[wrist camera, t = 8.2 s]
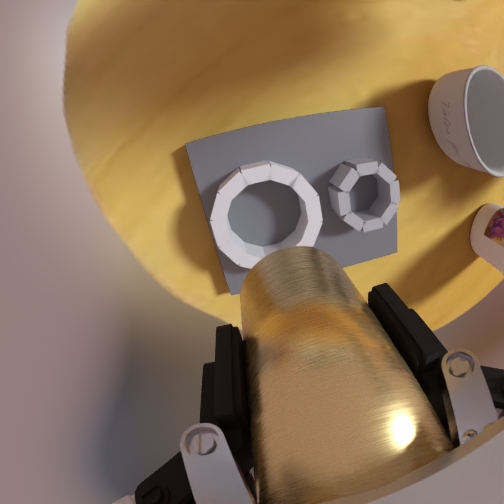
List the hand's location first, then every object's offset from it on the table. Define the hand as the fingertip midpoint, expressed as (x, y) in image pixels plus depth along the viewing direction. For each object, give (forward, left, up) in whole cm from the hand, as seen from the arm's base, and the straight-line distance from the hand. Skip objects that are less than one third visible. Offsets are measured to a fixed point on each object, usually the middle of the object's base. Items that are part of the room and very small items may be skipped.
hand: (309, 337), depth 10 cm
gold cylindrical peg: (0, 0, -3) cm, 3 cm away
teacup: (-5, +24, -18) cm, 30 cm away
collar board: (0, +4, -18) cm, 18 cm away
